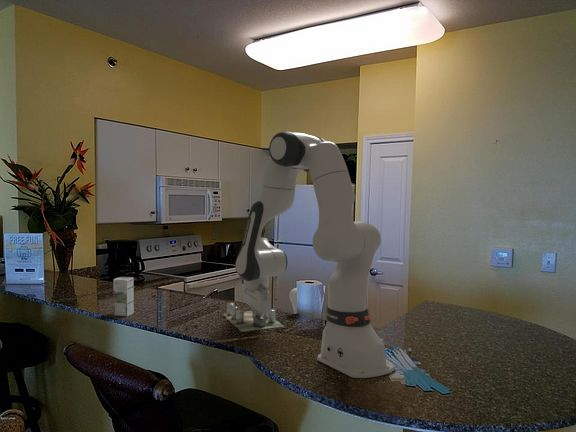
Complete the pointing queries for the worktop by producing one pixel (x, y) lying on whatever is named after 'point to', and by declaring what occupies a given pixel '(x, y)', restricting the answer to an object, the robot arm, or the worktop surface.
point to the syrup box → (123, 296)
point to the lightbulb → (294, 299)
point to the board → (251, 322)
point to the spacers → (239, 314)
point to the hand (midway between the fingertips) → (256, 320)
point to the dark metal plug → (259, 321)
